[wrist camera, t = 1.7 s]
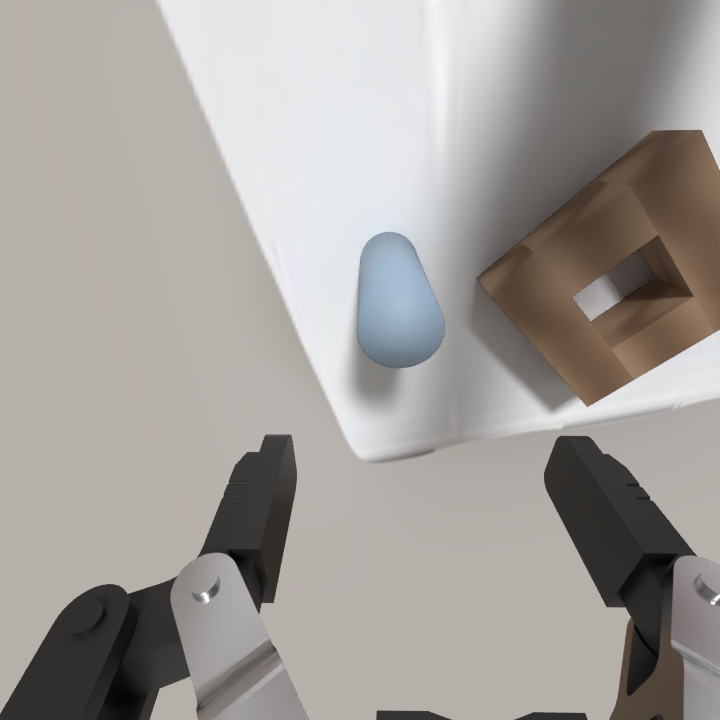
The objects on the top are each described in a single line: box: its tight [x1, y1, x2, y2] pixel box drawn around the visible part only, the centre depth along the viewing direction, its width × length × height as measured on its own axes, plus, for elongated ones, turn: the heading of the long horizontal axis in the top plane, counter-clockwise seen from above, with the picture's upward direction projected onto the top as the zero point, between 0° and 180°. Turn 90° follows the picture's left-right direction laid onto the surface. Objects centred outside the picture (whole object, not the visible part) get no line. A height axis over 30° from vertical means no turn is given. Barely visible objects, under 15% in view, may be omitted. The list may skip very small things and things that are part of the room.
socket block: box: [476, 130, 720, 407], centre depth 27 cm, size 14×14×4 cm
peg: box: [357, 232, 445, 368], centre depth 23 cm, size 4×4×12 cm
